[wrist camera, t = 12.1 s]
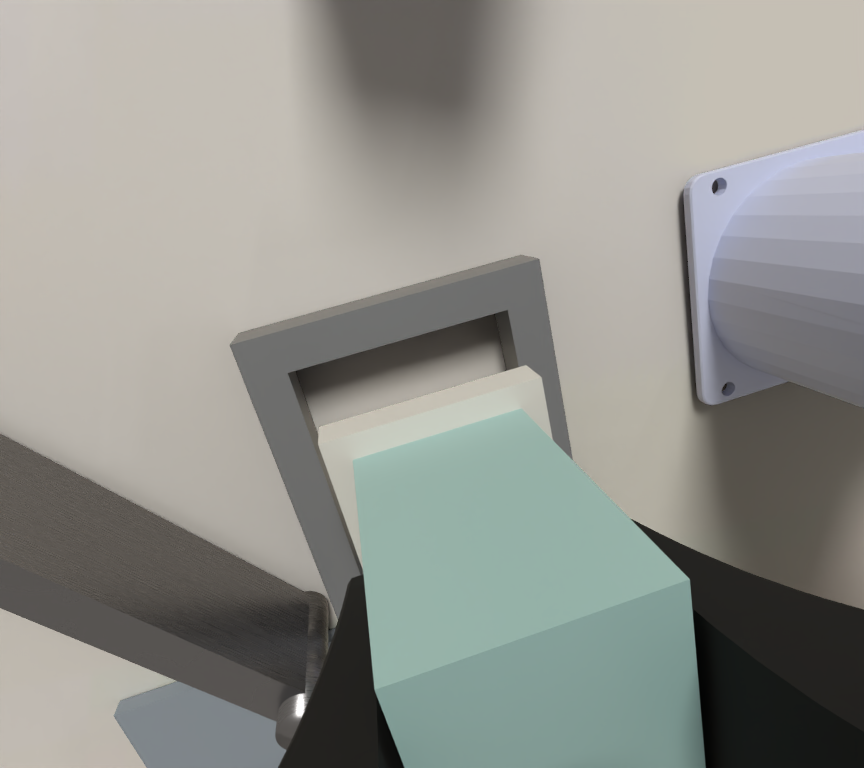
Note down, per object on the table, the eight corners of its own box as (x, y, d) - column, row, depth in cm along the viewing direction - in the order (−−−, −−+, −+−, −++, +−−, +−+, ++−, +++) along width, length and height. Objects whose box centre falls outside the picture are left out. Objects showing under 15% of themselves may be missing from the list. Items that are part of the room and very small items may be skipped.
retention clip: (-298, 268, 13) (-649, 298, 8) (336, 601, 19) (338, 724, 14) (-325, 314, 13) (-682, 369, 8) (312, 629, 19) (308, 758, 14)
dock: (521, 254, 16) (539, 258, 15) (567, 515, 20) (585, 538, 18) (238, 333, 16) (229, 345, 14) (338, 592, 19) (338, 622, 18)
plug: (525, 364, 13) (731, 523, 6) (563, 565, 15) (746, 839, 8) (318, 426, 12) (306, 670, 6) (388, 624, 14) (437, 965, 8)
